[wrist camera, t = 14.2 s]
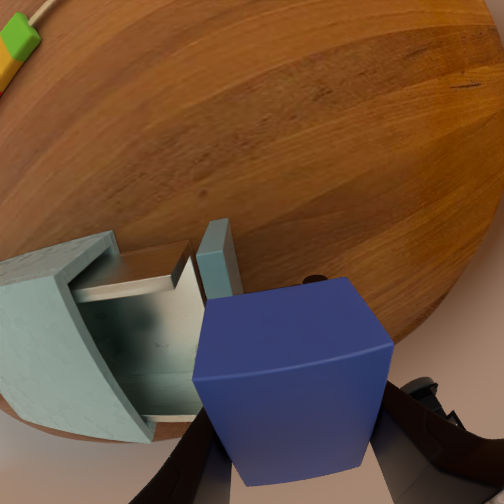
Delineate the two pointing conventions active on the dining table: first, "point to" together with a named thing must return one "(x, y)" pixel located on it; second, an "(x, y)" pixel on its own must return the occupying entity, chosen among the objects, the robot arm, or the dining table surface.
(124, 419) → the cabinet
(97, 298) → the drawer
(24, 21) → the popsicle
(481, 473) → the robot arm
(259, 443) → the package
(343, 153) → the dining table surface
